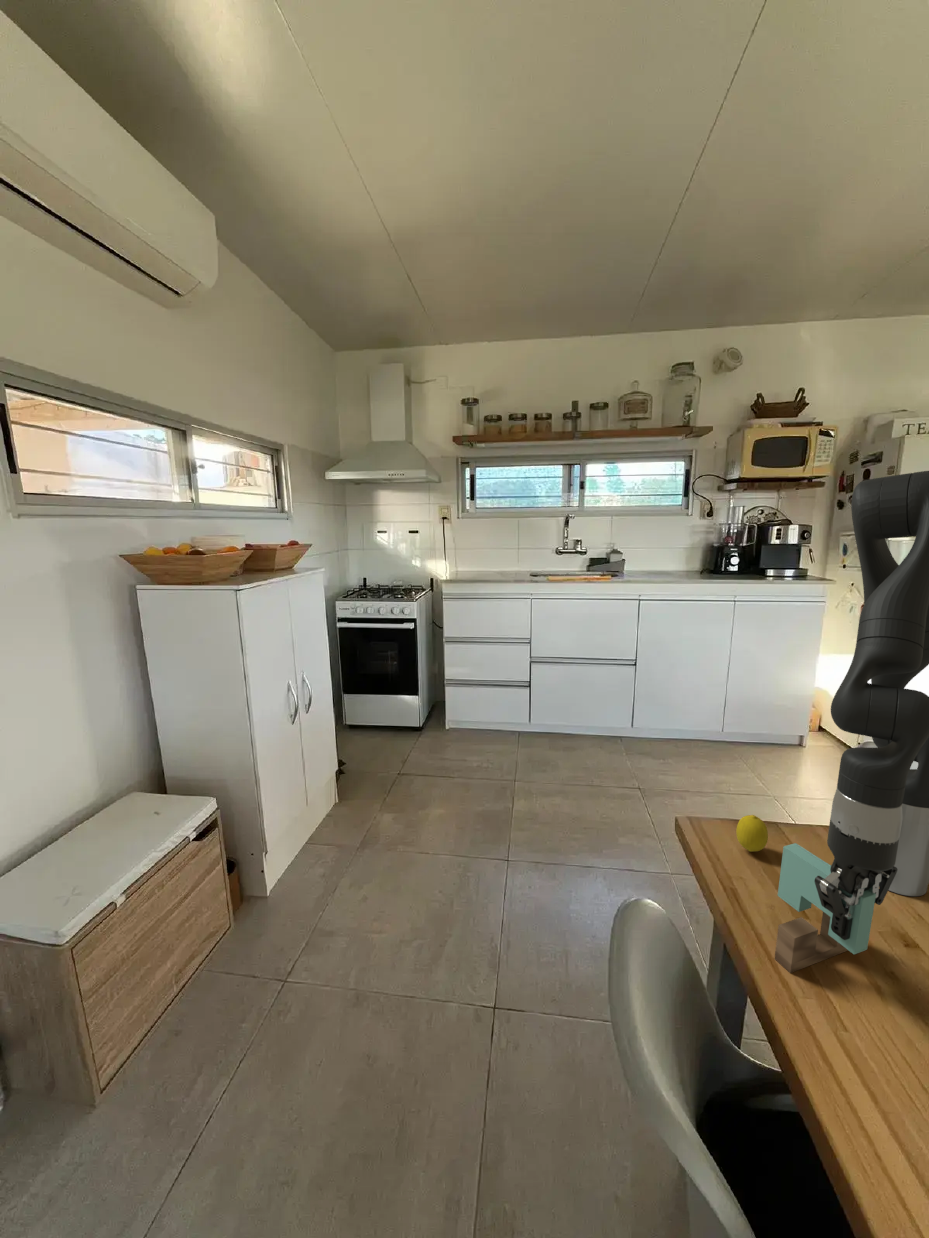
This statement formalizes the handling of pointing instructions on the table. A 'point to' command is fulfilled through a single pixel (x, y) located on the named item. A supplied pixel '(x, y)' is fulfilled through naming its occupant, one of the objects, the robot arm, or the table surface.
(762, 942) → the table surface
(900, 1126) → the table surface
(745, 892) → the table surface
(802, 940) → the brown wooden u-shaped block
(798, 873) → the teal arch block
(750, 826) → the lemon
